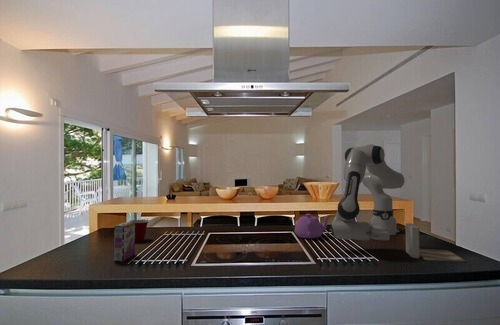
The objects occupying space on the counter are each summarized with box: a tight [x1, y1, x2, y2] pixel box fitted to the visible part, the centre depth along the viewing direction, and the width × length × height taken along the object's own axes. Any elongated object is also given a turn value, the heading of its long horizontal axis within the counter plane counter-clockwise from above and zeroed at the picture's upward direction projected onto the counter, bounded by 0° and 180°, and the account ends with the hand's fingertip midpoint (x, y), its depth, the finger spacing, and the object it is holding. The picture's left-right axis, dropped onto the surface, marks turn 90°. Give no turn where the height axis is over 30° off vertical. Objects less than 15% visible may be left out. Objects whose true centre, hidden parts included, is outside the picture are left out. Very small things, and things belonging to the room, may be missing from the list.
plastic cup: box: [129, 219, 150, 243], centre depth 169 cm, size 11×11×12 cm
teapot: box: [294, 213, 331, 239], centre depth 174 cm, size 22×22×14 cm
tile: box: [404, 222, 421, 259], centre depth 137 cm, size 10×3×14 cm, turn 167°
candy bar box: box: [113, 221, 136, 263], centre depth 136 cm, size 11×5×16 cm, turn 175°
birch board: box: [420, 248, 466, 263], centre depth 134 cm, size 16×16×1 cm
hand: (395, 232), depth 138 cm, fingers closed
